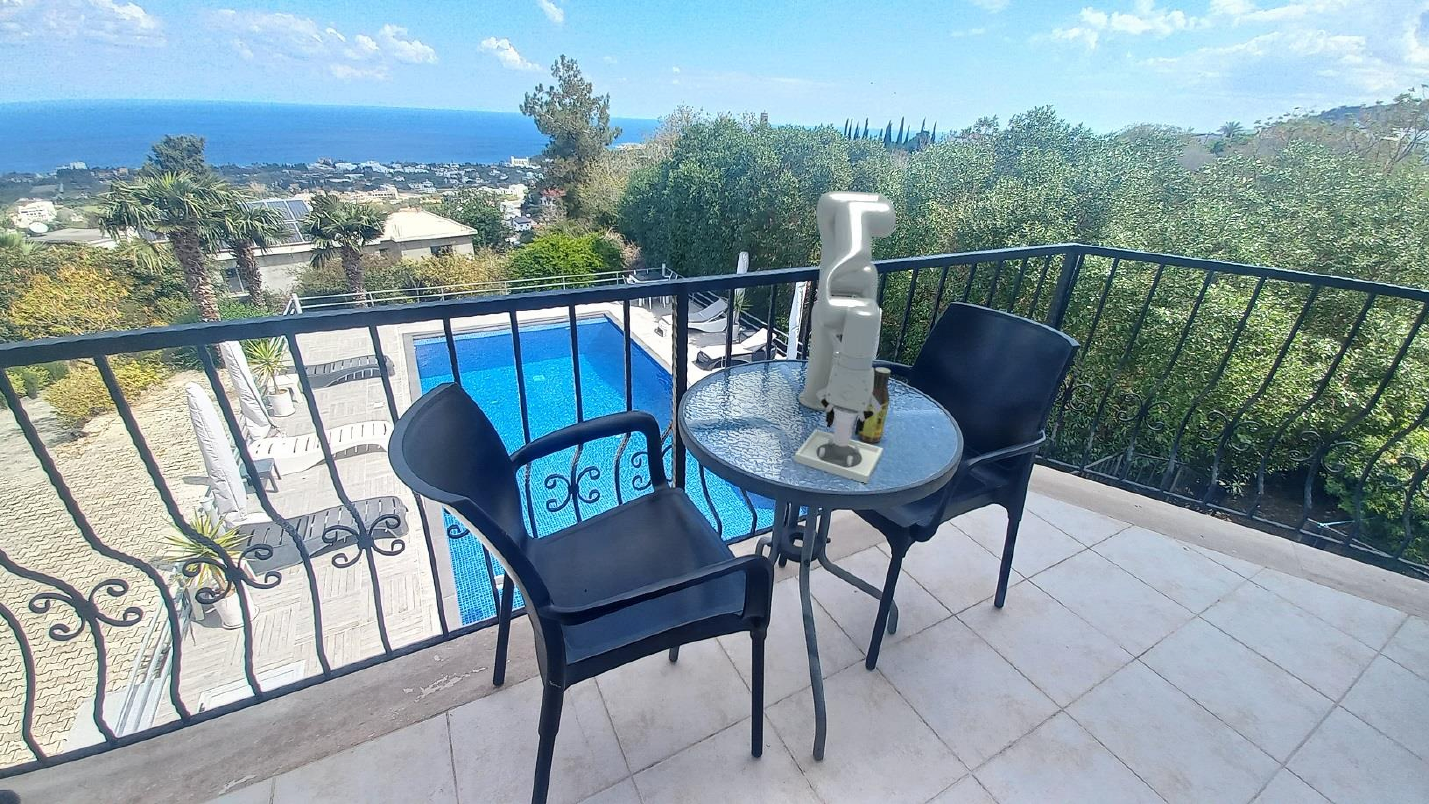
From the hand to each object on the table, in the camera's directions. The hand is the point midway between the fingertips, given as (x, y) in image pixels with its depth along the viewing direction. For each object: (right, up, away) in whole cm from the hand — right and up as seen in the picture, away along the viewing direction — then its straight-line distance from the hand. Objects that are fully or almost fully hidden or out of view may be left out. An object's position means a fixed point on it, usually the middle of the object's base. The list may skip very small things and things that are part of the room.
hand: (843, 428), depth 131 cm
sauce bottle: (+10, -3, +14) cm, 18 cm away
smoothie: (0, -4, +2) cm, 4 cm away
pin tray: (0, -8, +4) cm, 9 cm away
